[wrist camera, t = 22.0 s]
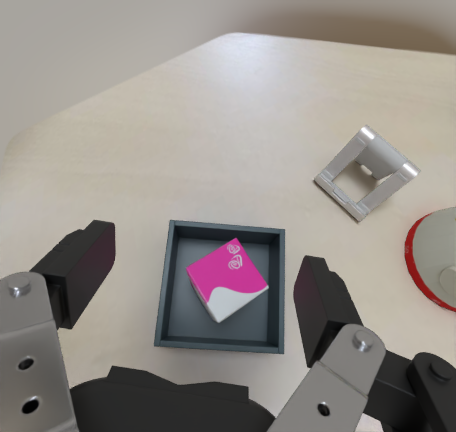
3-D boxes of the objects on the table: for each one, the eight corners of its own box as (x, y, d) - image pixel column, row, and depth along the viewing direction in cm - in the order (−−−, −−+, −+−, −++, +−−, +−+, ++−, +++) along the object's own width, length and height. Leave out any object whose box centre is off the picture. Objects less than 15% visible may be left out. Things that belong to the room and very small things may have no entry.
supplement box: (252, 295, 38) (271, 289, 27) (212, 322, 36) (215, 327, 26) (228, 256, 39) (236, 235, 28) (188, 280, 38) (181, 269, 27)
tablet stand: (311, 181, 44) (335, 153, 36) (345, 149, 46) (374, 116, 38) (356, 223, 42) (391, 203, 34) (389, 188, 44) (429, 162, 36)
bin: (162, 340, 36) (153, 346, 30) (175, 233, 40) (169, 219, 34) (270, 346, 37) (284, 354, 30) (272, 241, 41) (285, 229, 34)
